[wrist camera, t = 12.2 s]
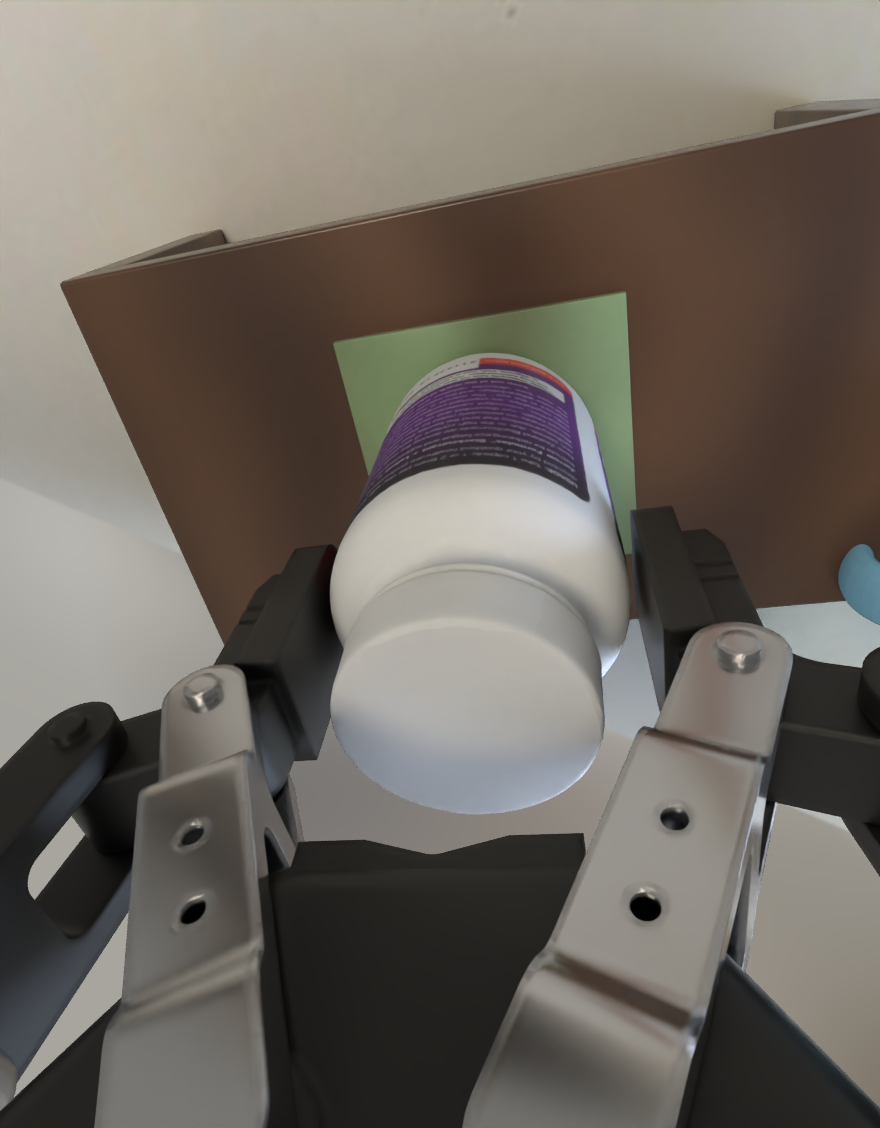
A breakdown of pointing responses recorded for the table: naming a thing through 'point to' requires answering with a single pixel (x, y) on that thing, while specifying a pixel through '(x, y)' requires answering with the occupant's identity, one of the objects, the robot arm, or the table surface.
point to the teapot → (861, 582)
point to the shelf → (531, 350)
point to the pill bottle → (480, 593)
